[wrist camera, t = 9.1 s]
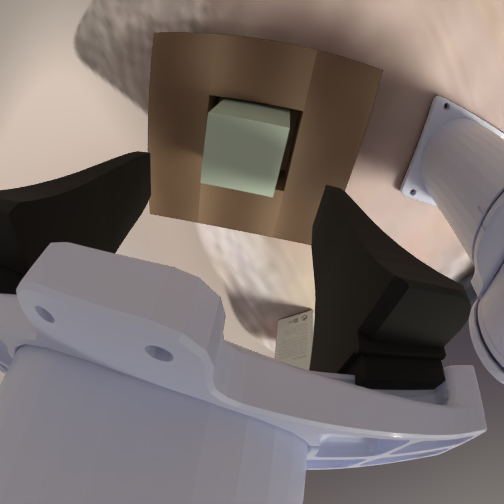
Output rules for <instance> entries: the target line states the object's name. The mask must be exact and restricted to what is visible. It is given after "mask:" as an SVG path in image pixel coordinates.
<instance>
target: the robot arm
mask: <svg viewBox="0 0 504 504" xmlns="http://www.w3.org/2000/svg"><path fill="white" fill-rule="evenodd" d="M445 103H447V108H446V109H444V104H445ZM412 189H415V190H414V192H413V193H410V191H411V190H412ZM400 191H401V193H402V194H403V195H404V196H407V197H410V198H413V199H416V200H419V201H422V202H425V203H428V204H430V205H433V206H436V207H438V208H439V209H440V210H441V212H442V213H443V215H444V216H445V218H446V220H447V221H448V223H449V224H450V226H451V227H452V229H453V231H454V232H455V234H456V235H457V237H458V239H459V240H460V242H461V244H462V245H463V247H464V249H465V251H466V252H467V254H468V256H469V258H470V259H471V261H472V263H473V265H474V267H475V273H474V276H473V278H472V280H471V283H472V286H473V288H474V290H475V292H476V294H477V296H478V299H477V300H476V301H475V303H474V305H473V306H472V309H471V305H470V301H469V299H468V296H467V294H466V292H465V289H464V287H463V286H462V285H461V284H459V283H457V282H455V281H454V280H452V279H450V278H448V277H446V276H444V275H442V274H441V273H439V272H437V271H436V270H434V269H432V268H431V267H429V266H428V265H426V264H424V263H423V262H422V261H420V260H419V259H417V258H416V257H414V256H413V255H412V254H410V253H409V252H408V251H406V250H405V249H403V248H402V247H401V246H400V245H398V244H397V243H396V242H395V241H394V240H393V239H391V238H390V237H389V236H388V235H387V234H386V233H384V232H383V231H382V230H381V229H380V228H379V227H378V226H377V225H376V224H375V223H374V222H373V221H372V220H371V219H370V218H369V217H368V216H367V215H366V214H365V213H364V212H363V210H362V209H361V208H360V207H359V206H358V205H357V204H356V203H355V202H354V201H353V200H352V199H351V198H350V196H349V195H348V194H347V193H346V192H345V191H343V190H342V189H341V188H338V187H334V186H330V185H326V186H325V189H324V192H323V196H322V199H321V202H320V205H319V208H318V211H317V214H316V217H315V220H314V223H313V226H312V258H313V268H314V280H315V296H316V301H315V320H314V332H313V343H312V352H311V360H310V367H309V370H305V369H302V368H299V367H296V366H293V365H290V364H287V363H284V362H281V361H279V360H276V359H273V358H270V357H267V356H265V355H262V354H259V353H257V352H254V351H251V350H249V349H246V348H243V347H241V346H238V345H236V344H233V343H231V342H228V341H226V340H224V336H223V329H224V322H225V312H224V308H223V305H222V301H221V298H220V297H219V296H218V295H217V294H216V293H215V292H214V291H213V290H212V289H211V288H210V287H209V286H208V285H206V284H205V283H204V282H203V281H202V280H201V279H200V278H199V277H196V276H194V275H192V274H189V273H187V272H184V271H182V270H179V269H177V268H175V267H171V266H167V265H162V264H158V263H153V262H149V261H144V260H140V259H135V258H131V257H127V256H122V255H119V254H115V253H116V251H117V249H118V248H119V246H120V245H121V243H122V242H123V240H124V239H125V237H126V236H127V234H128V233H129V231H130V230H131V228H132V227H133V226H134V224H135V223H136V221H137V220H138V218H139V217H140V215H141V214H142V212H143V210H144V209H145V207H146V205H147V203H148V200H149V199H150V197H151V163H150V153H147V152H138V151H137V152H132V153H128V154H125V155H122V156H119V157H116V158H114V159H111V160H109V161H106V162H103V163H101V164H98V165H95V166H93V167H90V168H87V169H85V170H82V171H80V172H77V173H74V174H71V175H68V176H65V177H61V178H58V179H55V180H51V181H47V182H43V183H39V184H35V185H31V186H25V187H20V188H15V189H8V190H0V371H2V372H3V373H5V376H4V379H3V381H2V383H1V385H0V504H303V495H304V485H305V472H306V470H316V469H337V468H338V469H339V468H352V467H362V466H372V465H379V464H387V463H393V462H400V461H406V460H412V459H417V458H423V457H429V456H434V455H438V454H441V453H443V452H445V451H448V450H450V449H452V448H454V447H456V446H458V445H461V444H463V443H465V442H467V441H468V440H471V439H473V438H475V437H476V436H478V435H480V434H482V433H484V432H485V431H486V430H487V426H486V421H485V415H484V409H483V404H482V400H481V395H480V391H479V386H478V383H477V378H476V374H475V370H474V367H473V366H471V365H452V366H448V367H446V368H443V366H442V362H441V360H443V359H444V358H445V356H446V353H445V350H444V346H445V345H446V344H447V343H448V342H449V341H450V340H451V339H452V338H453V337H454V336H455V335H456V334H457V333H458V332H459V331H460V330H461V328H462V327H463V326H464V325H465V323H466V322H467V320H468V317H469V328H470V335H471V339H472V342H473V345H474V348H475V350H476V352H477V354H478V356H479V358H480V360H481V361H482V363H483V365H484V366H485V367H486V369H487V370H488V371H489V372H490V373H491V374H492V375H493V376H494V377H495V378H496V379H497V380H498V381H500V382H501V383H503V384H504V133H503V132H501V131H500V130H498V129H497V128H495V127H494V126H492V125H491V124H489V123H487V122H486V121H484V120H483V119H481V118H479V117H478V116H476V115H474V114H473V113H471V112H469V111H467V110H466V109H464V108H462V107H460V106H459V105H457V104H455V103H453V102H451V101H449V100H447V99H445V98H443V97H441V96H436V97H435V98H434V99H433V102H432V105H431V108H430V111H429V114H428V117H427V120H426V123H425V126H424V129H423V131H422V134H421V137H420V140H419V142H418V145H417V148H416V150H415V153H414V155H413V158H412V160H411V163H410V165H409V168H408V170H407V173H406V175H405V178H404V180H403V182H402V185H401V187H400ZM469 315H470V316H469Z"/></svg>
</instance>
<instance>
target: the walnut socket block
mask: <svg viewBox="0 0 504 504" xmlns="http://www.w3.org/2000/svg"><path fill="white" fill-rule="evenodd" d="M382 72H383V70H381V69H378V68H375V67H373V66H370V65H367V64H364V63H361V62H358V61H355V60H351V59H348V58H345V57H341V56H338V55H334V54H331V53H327V52H323V51H319V50H315V49H311V48H307V47H302V46H298V45H293V44H288V43H283V42H277V41H271V40H265V39H258V38H251V37H243V36H234V35H224V34H210V33H188V32H159V33H154V38H153V47H152V58H151V71H150V87H149V110H148V153H150V163H151V197H150V199H149V206H150V214H154V215H159V216H165V217H170V218H176V219H181V220H186V221H192V222H197V223H202V224H207V225H213V226H218V227H223V228H228V229H233V230H238V231H244V232H249V233H254V234H259V235H264V236H269V237H274V238H279V239H284V240H289V241H293V242H298V243H303V244H308V245H312V226H313V223H314V220H315V217H316V214H317V211H318V208H319V205H320V202H321V199H322V196H323V192H324V189H325V186H326V185H330V186H334V187H338V188H341V189H342V190H343V191H345V189H346V187H347V184H348V181H349V178H350V175H351V172H352V169H353V166H354V164H355V161H356V158H357V155H358V152H359V149H360V146H361V142H362V139H363V136H364V133H365V130H366V127H367V124H368V120H369V117H370V114H371V110H372V107H373V104H374V100H375V97H376V93H377V90H378V86H379V83H380V79H381V76H382ZM226 97H228V98H235V99H242V100H248V101H254V102H260V103H266V104H271V105H276V106H281V107H286V108H290V130H289V134H288V138H287V142H286V146H285V150H284V154H283V158H282V163H281V167H280V171H279V175H278V179H277V183H276V187H275V191H274V195H273V197H268V196H264V195H259V194H254V193H249V192H244V191H240V190H235V189H230V188H224V187H219V186H214V185H209V184H203V183H200V182H201V171H202V161H203V152H204V142H205V134H206V125H207V117H208V113H209V112H210V111H211V110H212V109H213V108H214V107H215V106H216V105H218V104H219V103H220V102H221V101H222V100H223V99H225V98H226Z"/></svg>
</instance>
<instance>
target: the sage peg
mask: <svg viewBox="0 0 504 504" xmlns="http://www.w3.org/2000/svg"><path fill="white" fill-rule="evenodd" d="M289 130H290V108H286V107H281V106H276V105H271V104H266V103H260V102H254V101H248V100H242V99H235V98H228V97H226V98H225V99H223V100H222V101H221V102H220V103H219V104H218V105H216V106H215V107H214V108H213V109H212V110H211V111H210V112H209V113H208V117H207V125H206V134H205V142H204V152H203V161H202V171H201V182H200V183H203V184H209V185H214V186H219V187H224V188H230V189H235V190H240V191H244V192H249V193H254V194H259V195H264V196H268V197H273V195H274V191H275V187H276V183H277V179H278V175H279V171H280V167H281V163H282V158H283V154H284V150H285V146H286V142H287V138H288V134H289Z"/></svg>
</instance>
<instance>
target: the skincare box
mask: <svg viewBox="0 0 504 504" xmlns="http://www.w3.org/2000/svg"><path fill="white" fill-rule="evenodd" d="M314 320H315V313H314V311H313V310H310V311H307V312H304V313H301V314H297V315H294V316H291V317H288V318H284V319H281V320H279V321H278V325H277V337H276V349H275V359H276V360H279V361H281V362H284V363H287V364H290V365H293V366H296V367H299V368H302V369H305V370H309V367H310V360H311V352H312V343H313V332H314Z"/></svg>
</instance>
